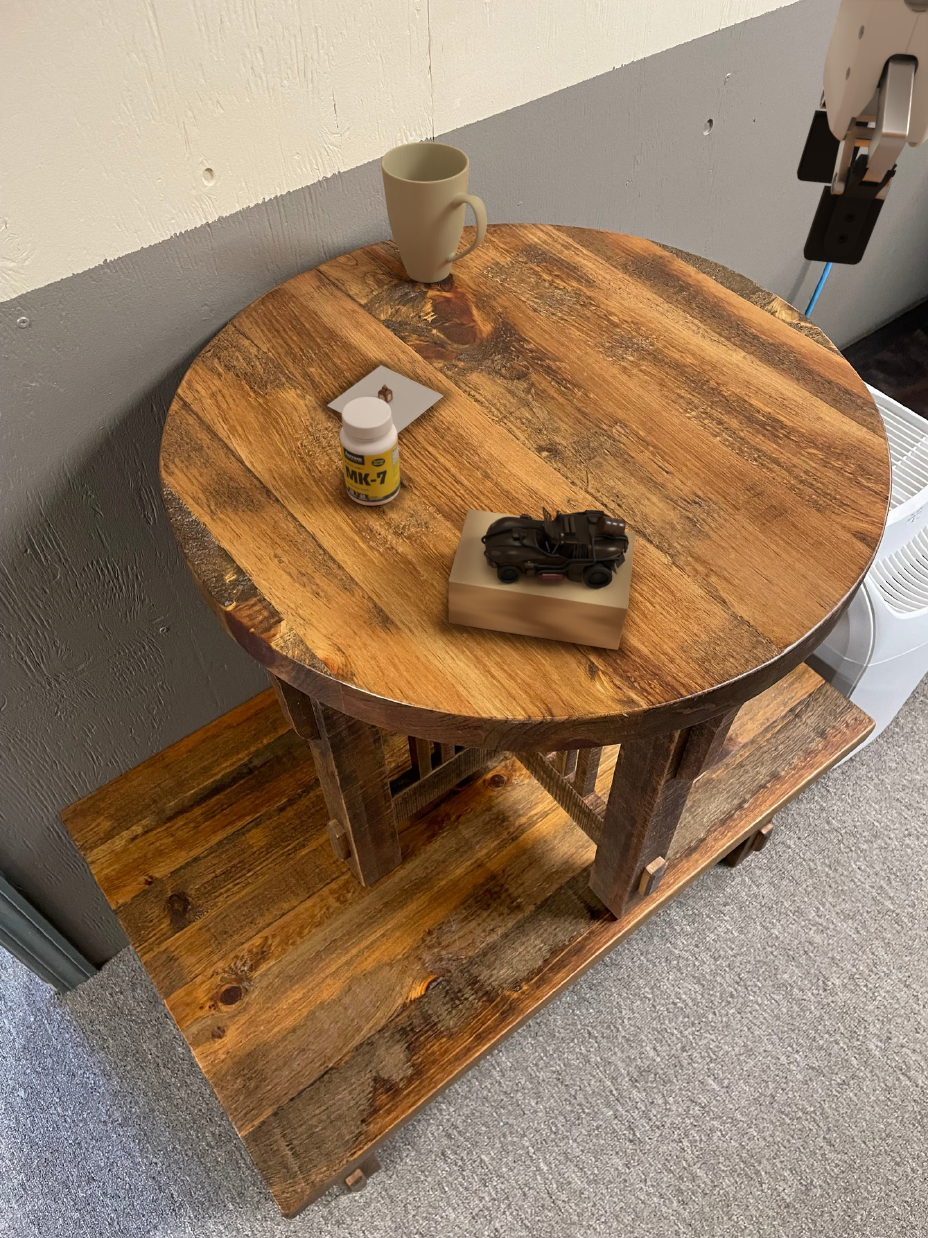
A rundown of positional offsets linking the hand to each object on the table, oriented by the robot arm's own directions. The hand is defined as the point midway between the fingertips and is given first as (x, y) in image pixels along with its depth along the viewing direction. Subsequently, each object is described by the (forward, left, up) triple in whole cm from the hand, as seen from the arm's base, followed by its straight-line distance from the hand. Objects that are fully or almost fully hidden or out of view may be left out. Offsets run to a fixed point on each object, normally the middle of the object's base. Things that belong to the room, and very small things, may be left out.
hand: (825, 218), depth 53 cm
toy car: (+14, +12, -22) cm, 28 cm away
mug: (+32, -33, -26) cm, 53 cm away
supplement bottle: (+30, +2, -26) cm, 40 cm away
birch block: (+14, +12, -26) cm, 32 cm away
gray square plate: (+32, -10, -26) cm, 43 cm away
